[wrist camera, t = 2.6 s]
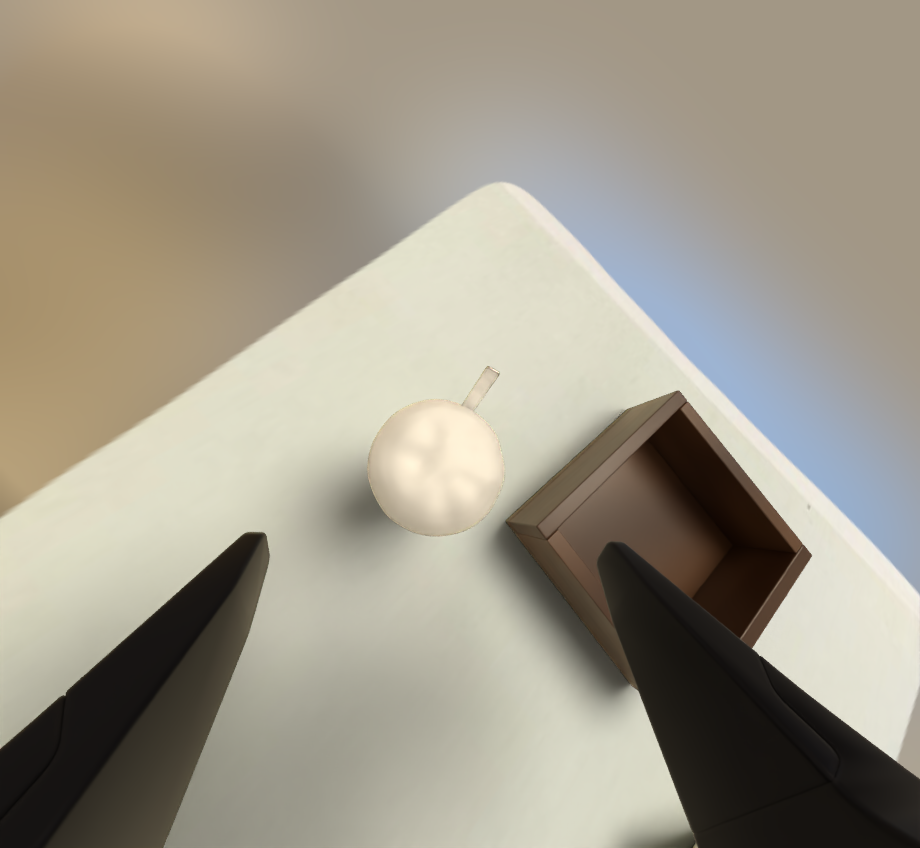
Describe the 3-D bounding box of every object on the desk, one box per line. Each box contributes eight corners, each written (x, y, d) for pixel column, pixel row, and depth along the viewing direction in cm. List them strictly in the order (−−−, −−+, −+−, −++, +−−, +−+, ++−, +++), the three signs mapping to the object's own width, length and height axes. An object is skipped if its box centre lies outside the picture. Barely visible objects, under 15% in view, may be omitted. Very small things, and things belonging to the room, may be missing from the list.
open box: (737, 545, 23) (813, 555, 19) (631, 685, 19) (696, 734, 15) (627, 408, 23) (679, 389, 19) (504, 520, 20) (535, 526, 16)
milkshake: (475, 450, 20) (557, 405, 11) (433, 535, 19) (486, 573, 9) (406, 413, 20) (429, 331, 10) (358, 497, 18) (331, 495, 9)
